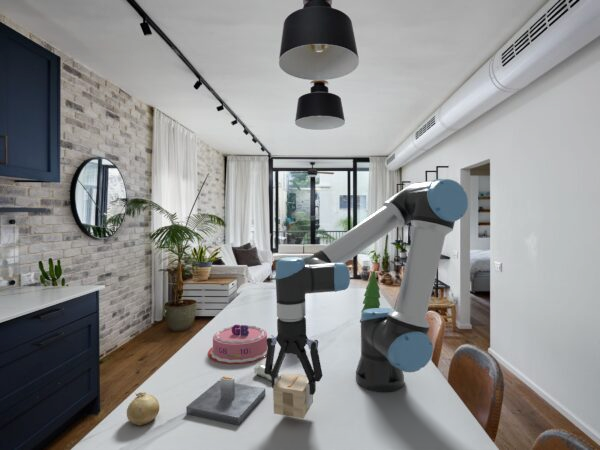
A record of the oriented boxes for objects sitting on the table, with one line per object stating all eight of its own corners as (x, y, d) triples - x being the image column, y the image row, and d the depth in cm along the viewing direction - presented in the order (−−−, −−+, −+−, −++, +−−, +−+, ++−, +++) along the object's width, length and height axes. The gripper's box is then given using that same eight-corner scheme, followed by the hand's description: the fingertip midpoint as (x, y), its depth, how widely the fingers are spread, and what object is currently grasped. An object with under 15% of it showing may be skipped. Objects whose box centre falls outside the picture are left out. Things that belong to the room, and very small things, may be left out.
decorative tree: (387, 340, 150) (387, 269, 148) (371, 345, 144) (371, 272, 143) (370, 334, 158) (370, 266, 156) (354, 338, 152) (354, 269, 151)
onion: (164, 411, 98) (163, 386, 97) (153, 429, 90) (152, 401, 89) (134, 412, 97) (133, 387, 97) (120, 430, 89) (120, 402, 89)
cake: (196, 362, 130) (195, 334, 130) (222, 338, 154) (222, 314, 154) (262, 367, 125) (261, 337, 125) (278, 341, 150) (278, 317, 150)
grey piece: (265, 394, 106) (265, 369, 106) (238, 425, 91) (238, 395, 91) (218, 386, 111) (218, 362, 111) (186, 414, 96) (185, 386, 96)
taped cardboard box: (285, 397, 98) (284, 372, 98) (313, 402, 96) (312, 375, 96) (273, 413, 91) (273, 385, 91) (303, 418, 88) (302, 390, 88)
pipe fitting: (268, 370, 124) (253, 376, 118) (269, 359, 124) (254, 364, 119) (285, 377, 118) (270, 383, 113) (285, 365, 118) (271, 371, 113)
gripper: (333, 316, 92) (335, 401, 93) (261, 310, 99) (263, 390, 100) (326, 325, 85) (328, 417, 86) (248, 318, 92) (251, 404, 93)
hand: (293, 402), depth 93 cm, fingers closed on taped cardboard box, 8 cm apart
